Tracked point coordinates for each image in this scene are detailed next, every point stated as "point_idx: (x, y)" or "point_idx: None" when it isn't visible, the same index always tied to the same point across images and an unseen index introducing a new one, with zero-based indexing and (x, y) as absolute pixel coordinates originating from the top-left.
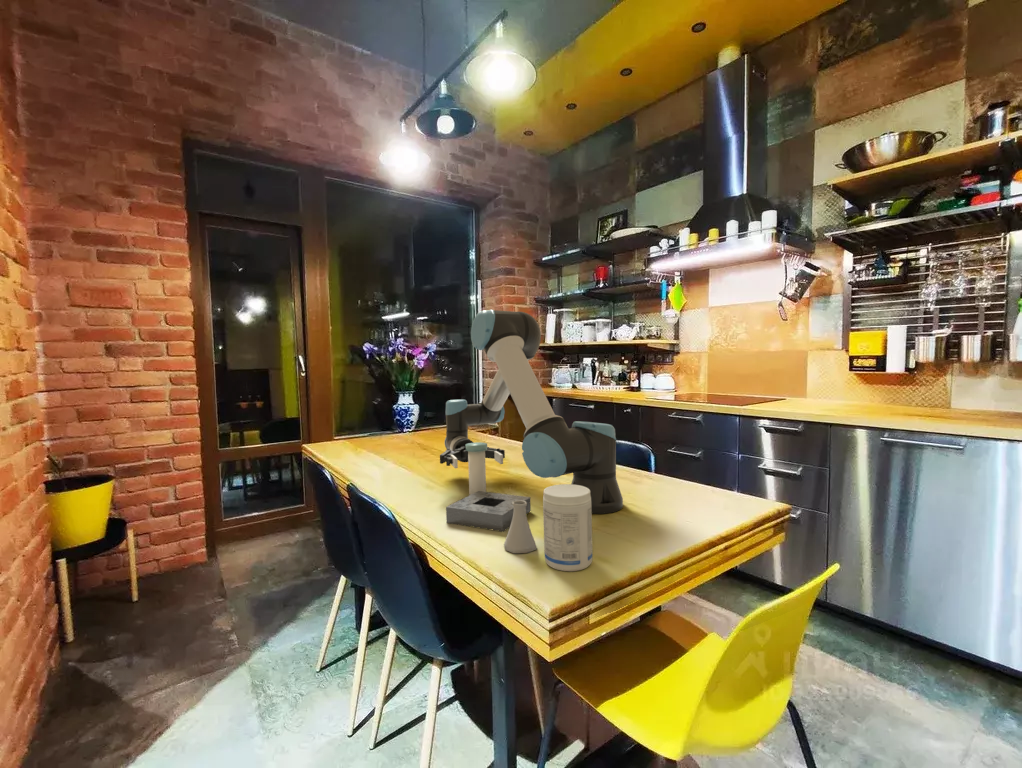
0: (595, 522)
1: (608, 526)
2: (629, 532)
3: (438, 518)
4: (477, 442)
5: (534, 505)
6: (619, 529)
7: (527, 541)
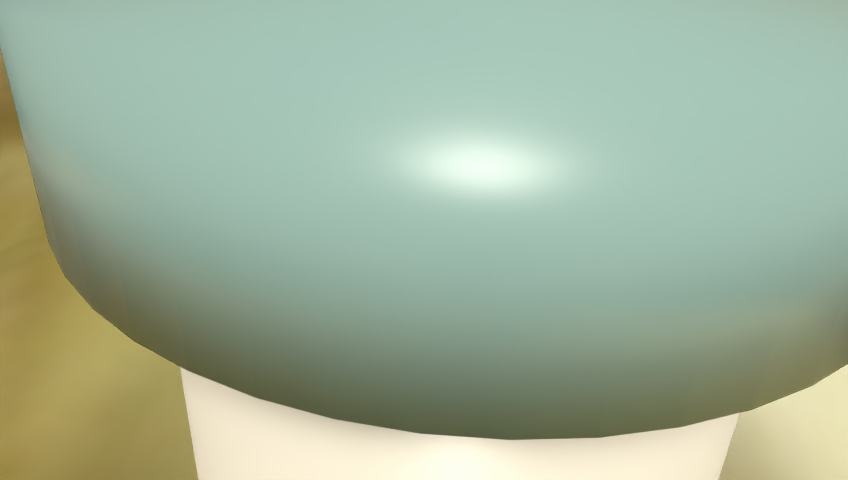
0: (2, 137)
1: (5, 110)
2: (4, 78)
3: (837, 377)
4: (265, 79)
5: (17, 379)
6: (3, 93)
7: None
